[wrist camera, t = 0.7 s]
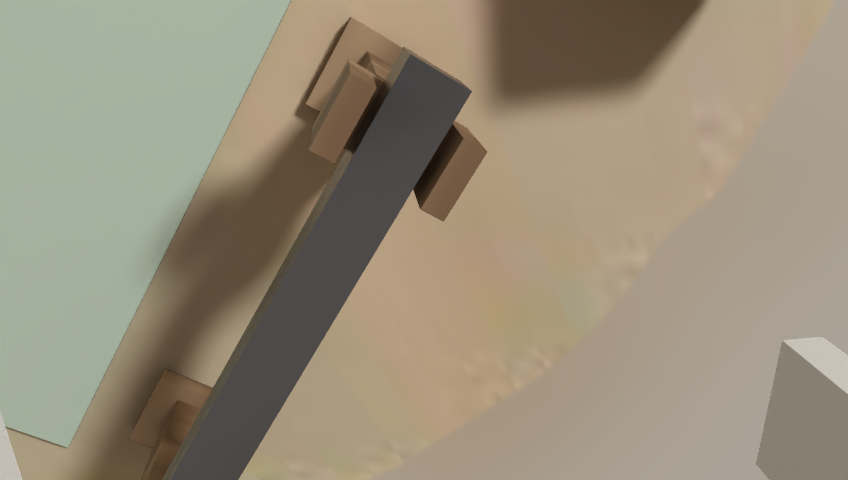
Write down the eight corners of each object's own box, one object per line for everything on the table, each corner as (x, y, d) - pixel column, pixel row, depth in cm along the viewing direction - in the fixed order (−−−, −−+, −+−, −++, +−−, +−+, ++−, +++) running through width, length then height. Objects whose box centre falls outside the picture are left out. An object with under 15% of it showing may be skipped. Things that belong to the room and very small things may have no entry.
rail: (99, 590, 32) (81, 638, 30) (403, 46, 24) (410, 54, 22) (148, 604, 33) (134, 651, 31) (459, 80, 25) (472, 91, 23)
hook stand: (133, 429, 42) (41, 630, 29) (350, 17, 34) (358, 41, 21) (221, 461, 44) (172, 664, 31) (447, 75, 36) (508, 130, 23)
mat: (-136, 369, 38) (-143, 375, 38) (80, -214, 29) (75, -218, 29) (71, 441, 42) (67, 447, 41) (321, -61, 33) (321, -62, 32)
